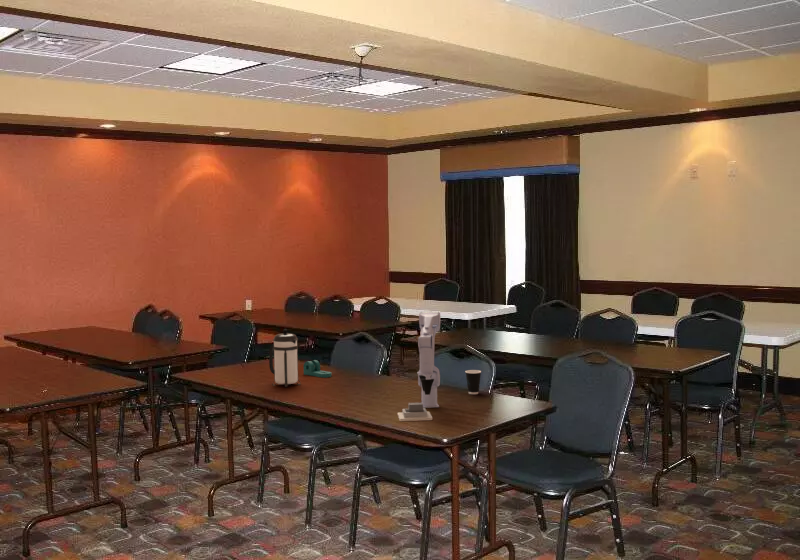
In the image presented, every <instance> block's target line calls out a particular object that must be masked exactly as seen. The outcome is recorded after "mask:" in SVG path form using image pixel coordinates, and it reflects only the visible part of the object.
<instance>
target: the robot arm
mask: <svg viewBox="0 0 800 560" xmlns="http://www.w3.org/2000/svg"><path fill="white" fill-rule="evenodd" d="M418 324H419V329H420V336H418V338H417V339H418V340H417V345H418V353H419V370H418V371H417V372H416V374H417V377H418V378H417V383H418V386H419V387H420V388H421V402H420V403H422V404H423V408H425V409H426V408H427V409H428V408H429V409H430V408H440V405H439V404H438V387H439V386H440V384H441V373H440V369H439V368H438V367H437V366H436V365H435V338H436V334H437V333H438V332H440V329H441V312H439V311H438V312H437V311H435V312H434V311H427V312H425V311H424V312H423V311H420V312H419V313H418Z"/></svg>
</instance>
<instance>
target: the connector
mask: <svg viewBox="0 0 800 560" xmlns="http://www.w3.org/2000/svg"><path fill="white" fill-rule="evenodd" d="M407 403H408V408H407V409H408V412H423V404H422V403H421V402H407Z"/></svg>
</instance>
